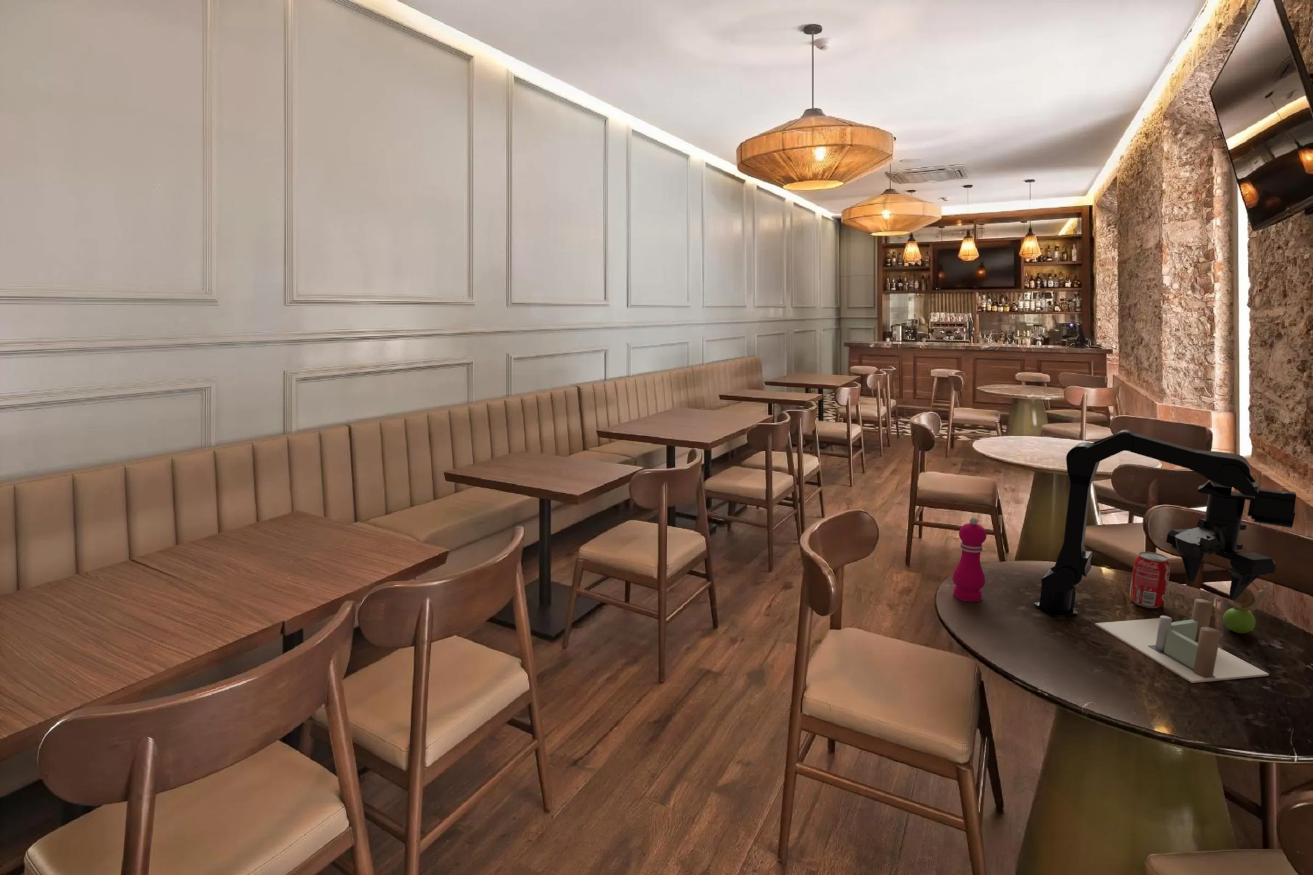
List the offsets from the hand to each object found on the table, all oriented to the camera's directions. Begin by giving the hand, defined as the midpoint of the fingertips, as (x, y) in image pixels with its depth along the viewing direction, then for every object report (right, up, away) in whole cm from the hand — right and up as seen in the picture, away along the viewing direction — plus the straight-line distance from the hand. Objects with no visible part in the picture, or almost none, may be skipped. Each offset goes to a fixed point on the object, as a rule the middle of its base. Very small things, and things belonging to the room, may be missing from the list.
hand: (1211, 590), depth 143 cm
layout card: (-6, -13, +2) cm, 14 cm away
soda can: (+3, -9, +24) cm, 25 cm away
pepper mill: (-38, -8, +27) cm, 47 cm away
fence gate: (-4, -12, +2) cm, 13 cm away
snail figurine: (+14, -11, +9) cm, 20 cm away
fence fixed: (-9, -13, -4) cm, 16 cm away
